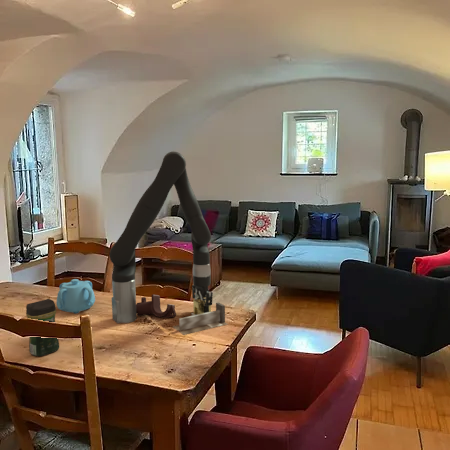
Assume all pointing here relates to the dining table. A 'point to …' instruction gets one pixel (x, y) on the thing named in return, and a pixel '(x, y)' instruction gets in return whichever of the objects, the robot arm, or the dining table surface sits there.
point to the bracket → (154, 308)
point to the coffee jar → (46, 313)
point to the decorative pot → (75, 296)
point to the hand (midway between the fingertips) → (202, 311)
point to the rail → (202, 321)
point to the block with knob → (199, 306)
